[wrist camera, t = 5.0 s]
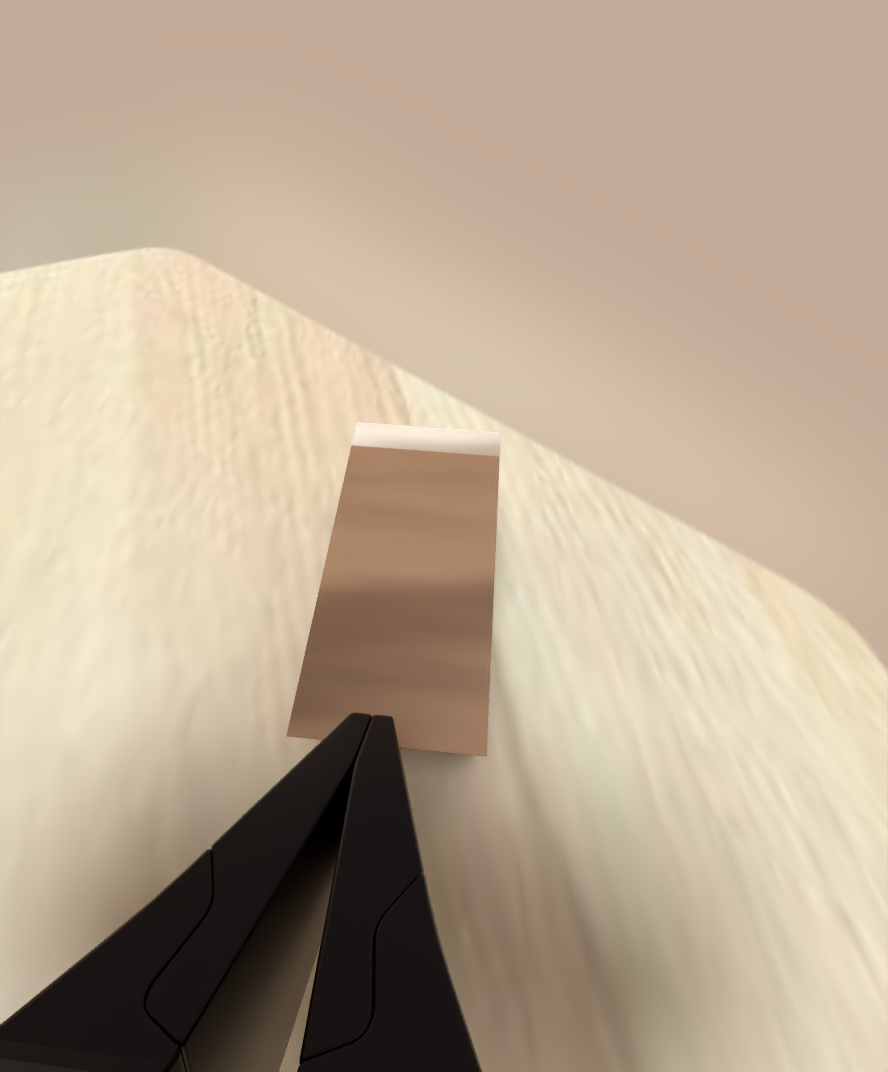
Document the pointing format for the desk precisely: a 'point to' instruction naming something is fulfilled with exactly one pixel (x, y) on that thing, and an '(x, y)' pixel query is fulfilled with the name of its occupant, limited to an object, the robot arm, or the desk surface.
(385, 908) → the robot arm
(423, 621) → the beige tall block
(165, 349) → the desk surface
